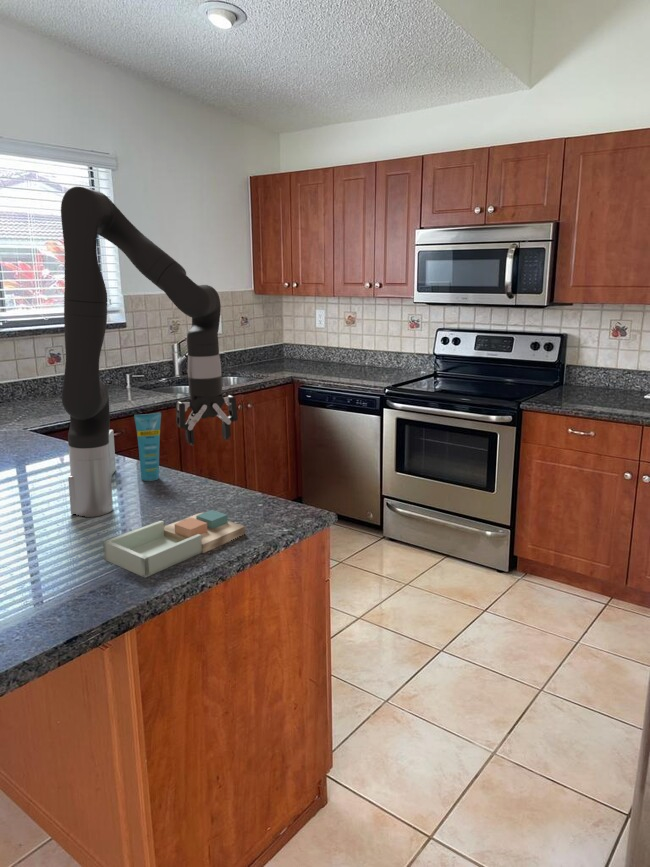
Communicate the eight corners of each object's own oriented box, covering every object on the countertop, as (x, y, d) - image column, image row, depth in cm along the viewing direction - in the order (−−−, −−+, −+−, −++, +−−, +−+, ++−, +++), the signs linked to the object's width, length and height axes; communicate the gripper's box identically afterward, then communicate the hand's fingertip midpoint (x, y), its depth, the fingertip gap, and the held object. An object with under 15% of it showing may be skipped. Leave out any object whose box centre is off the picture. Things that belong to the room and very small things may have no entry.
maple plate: (203, 553, 137) (203, 544, 136) (159, 536, 145) (159, 528, 144) (245, 534, 147) (245, 526, 147) (202, 519, 155) (202, 512, 155)
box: (145, 577, 125) (144, 558, 124) (104, 559, 133) (103, 541, 132) (201, 552, 137) (201, 535, 136) (161, 537, 145) (160, 520, 144)
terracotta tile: (190, 538, 139) (190, 529, 139) (174, 532, 142) (174, 524, 142) (207, 531, 143) (207, 522, 143) (191, 525, 146) (191, 517, 146)
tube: (140, 483, 181) (137, 416, 176) (134, 478, 184) (131, 413, 180) (165, 479, 185) (163, 413, 180) (160, 474, 188) (157, 410, 184)
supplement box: (91, 470, 191) (88, 429, 188) (116, 470, 192) (114, 429, 188) (84, 478, 184) (81, 435, 181) (110, 478, 184) (108, 435, 181)
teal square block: (211, 529, 145) (211, 521, 144) (196, 524, 147) (196, 515, 147) (227, 522, 148) (227, 514, 148) (212, 517, 151) (212, 509, 151)
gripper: (180, 380, 141) (185, 450, 145) (240, 373, 148) (243, 441, 152) (169, 375, 147) (174, 443, 152) (227, 369, 154) (230, 434, 159)
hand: (209, 441), depth 152 cm, fingers open, 8 cm apart
